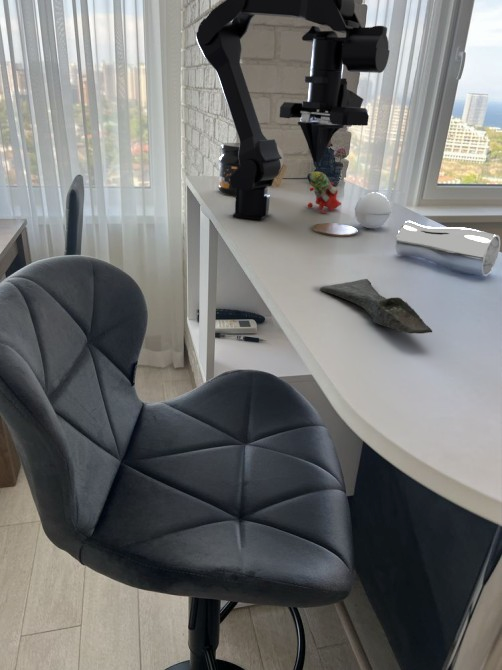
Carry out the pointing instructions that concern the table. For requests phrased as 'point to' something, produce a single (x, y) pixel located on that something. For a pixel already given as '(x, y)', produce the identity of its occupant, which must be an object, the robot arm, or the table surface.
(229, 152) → the supplement container
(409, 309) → the tool
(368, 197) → the white sphere
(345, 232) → the coaster
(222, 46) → the robot arm
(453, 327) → the table surface
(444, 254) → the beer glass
